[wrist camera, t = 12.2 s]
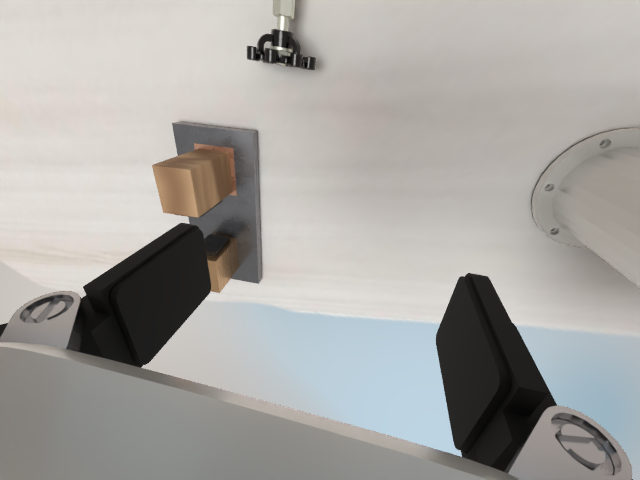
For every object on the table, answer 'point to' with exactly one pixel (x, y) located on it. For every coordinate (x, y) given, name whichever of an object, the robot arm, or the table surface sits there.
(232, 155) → the gray base with block
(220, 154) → the brown rectangular block
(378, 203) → the table surface
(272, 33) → the valve
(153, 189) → the table surface
